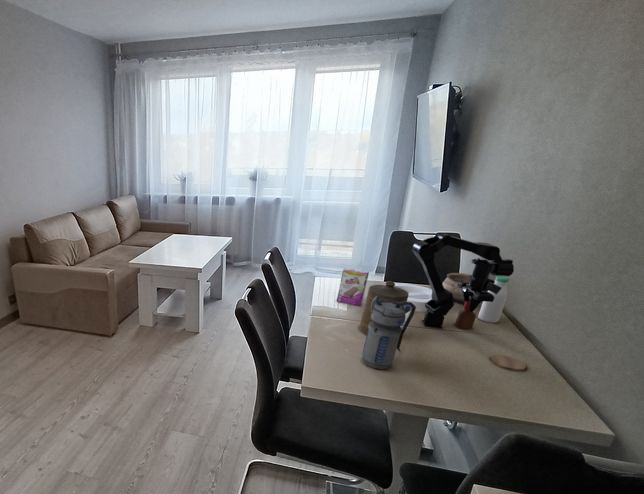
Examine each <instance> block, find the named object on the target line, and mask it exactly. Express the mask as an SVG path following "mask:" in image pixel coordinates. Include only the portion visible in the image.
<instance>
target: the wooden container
mask: <svg viewBox="0 0 644 494" xmlns="http://www.w3.org/2000/svg"><path fill="white" fill-rule="evenodd" d="M395 283H396V282H394V281H392V280H387V281H386V282H385V284H386V285H384V284H373V285H370V286H369V287H368V291H367V295H366V299H365V303H364V307H363V310H362V314H361V318H360V323H359V330H360V331H361V333H363V334H365V335H367V332H368V327H369V323H370V322H371V321H372V319H371V314H372V312H371V304H372V300H373V299H374V298H375V297H376V296H379V300H389V303H392V302H391V301H394V302H403V301H406V302H407V299H408V295H409V294H408V292H407V291H405V290H403V289H401V288H398V287H394V286H395ZM400 306H401V307H403V305H400Z"/></svg>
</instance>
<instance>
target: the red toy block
mask: <svg viewBox="0 0 644 494" xmlns="http://www.w3.org/2000/svg"><path fill="white" fill-rule="evenodd" d="M464 309H465V310H467V311H470V308H469V301H465V304H463V309H462V310H464ZM475 311H476V309H475V310H474V311H473V312H475Z"/></svg>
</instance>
